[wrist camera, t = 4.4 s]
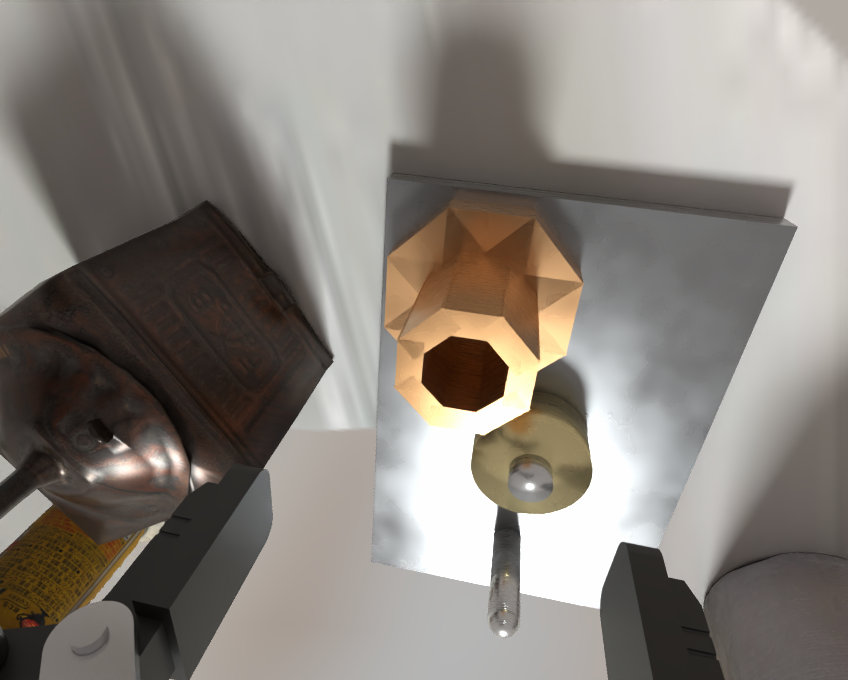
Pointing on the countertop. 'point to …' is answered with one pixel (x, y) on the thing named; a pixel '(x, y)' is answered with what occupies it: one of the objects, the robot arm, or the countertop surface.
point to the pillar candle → (782, 619)
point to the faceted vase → (478, 312)
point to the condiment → (57, 570)
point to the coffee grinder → (150, 375)
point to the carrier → (575, 399)
